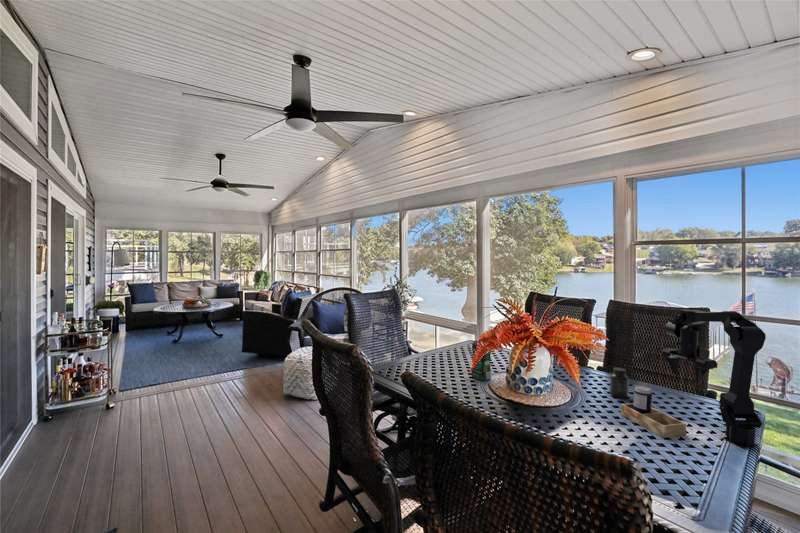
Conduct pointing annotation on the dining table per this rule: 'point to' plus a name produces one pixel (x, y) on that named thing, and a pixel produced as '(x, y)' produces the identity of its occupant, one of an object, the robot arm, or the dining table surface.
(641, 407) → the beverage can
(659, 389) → the dining table surface
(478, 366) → the coffee jar
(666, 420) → the caddy
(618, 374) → the supplement bottle
